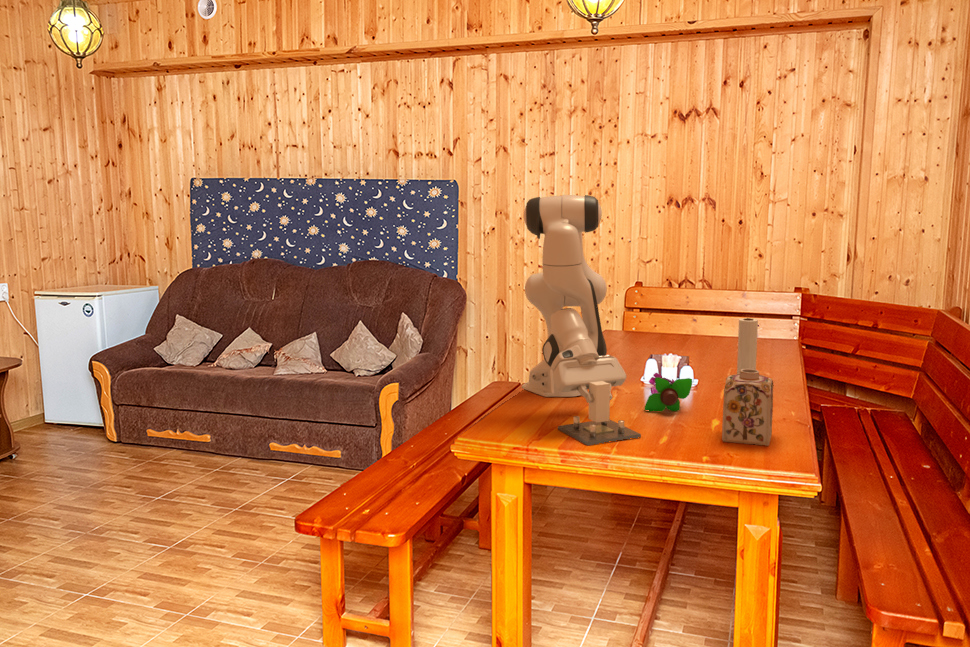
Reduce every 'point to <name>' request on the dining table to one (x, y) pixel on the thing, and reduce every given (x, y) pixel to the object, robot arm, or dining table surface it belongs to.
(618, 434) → the grey square base plate
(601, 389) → the post
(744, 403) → the decorative jar
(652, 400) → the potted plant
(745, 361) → the tan cylinder
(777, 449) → the dining table surface
